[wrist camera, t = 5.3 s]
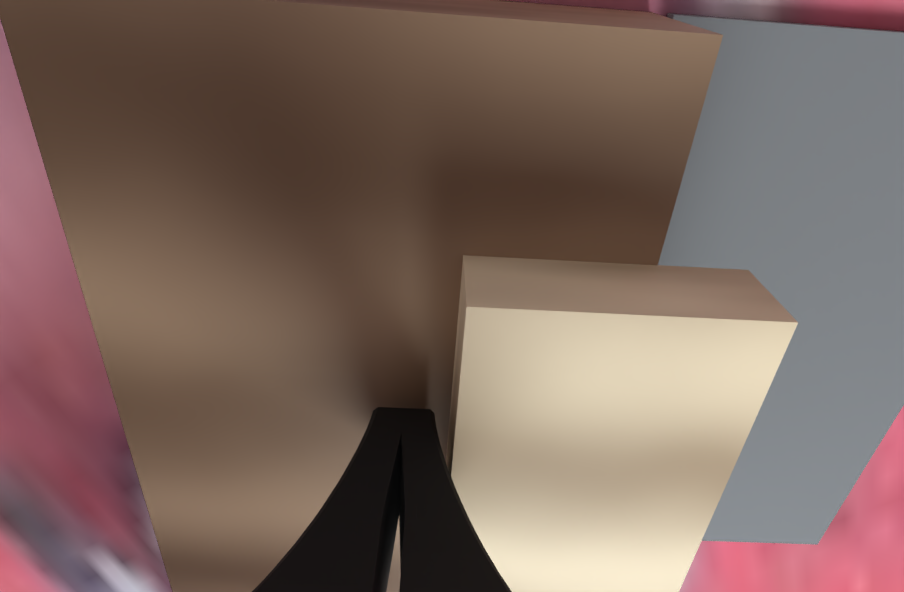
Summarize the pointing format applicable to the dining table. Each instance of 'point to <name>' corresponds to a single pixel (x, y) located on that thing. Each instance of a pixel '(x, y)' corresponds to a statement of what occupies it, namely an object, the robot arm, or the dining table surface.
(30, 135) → the dining table surface
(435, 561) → the robot arm
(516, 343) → the tile
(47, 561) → the dining table surface
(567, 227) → the brown shallow box
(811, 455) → the mat
